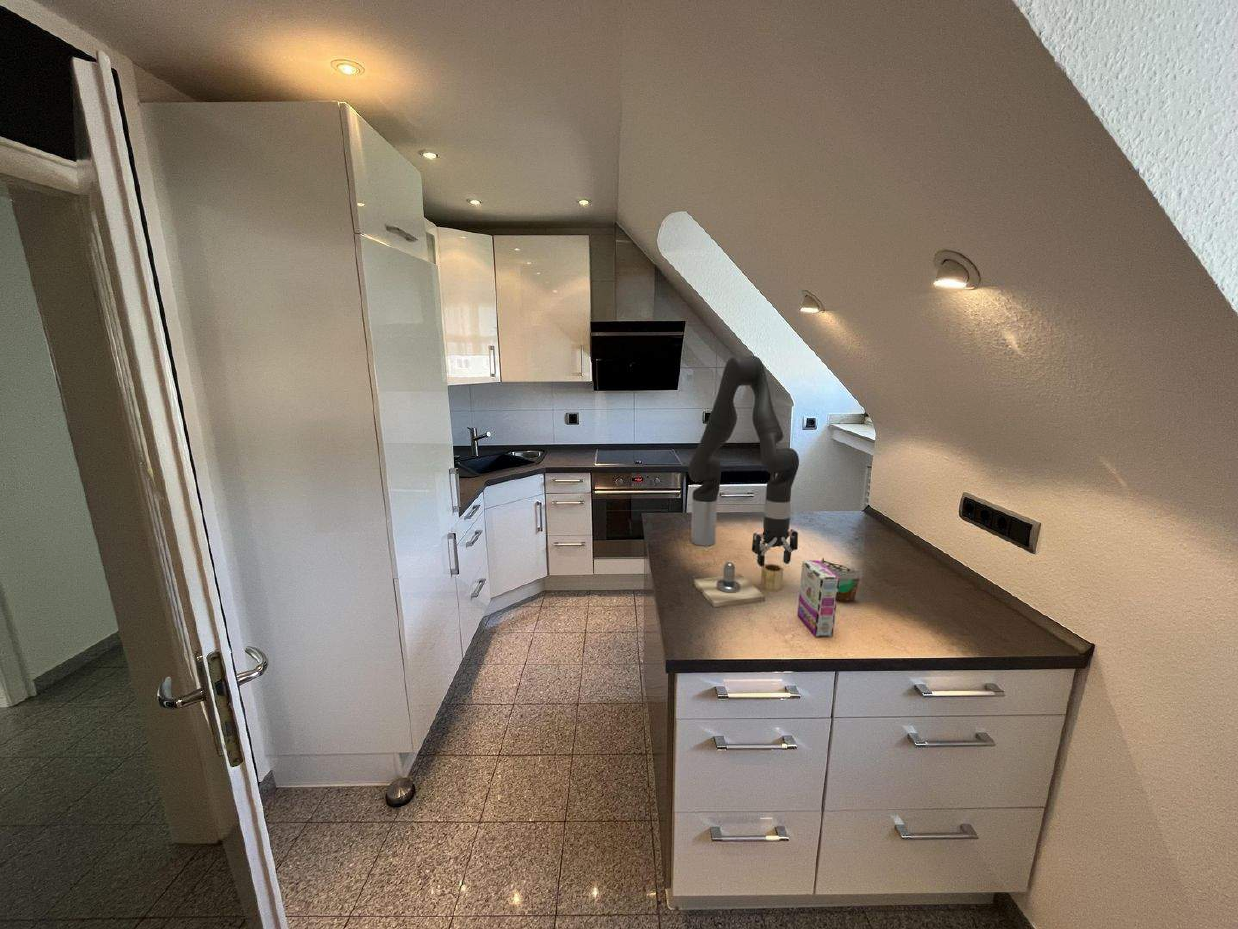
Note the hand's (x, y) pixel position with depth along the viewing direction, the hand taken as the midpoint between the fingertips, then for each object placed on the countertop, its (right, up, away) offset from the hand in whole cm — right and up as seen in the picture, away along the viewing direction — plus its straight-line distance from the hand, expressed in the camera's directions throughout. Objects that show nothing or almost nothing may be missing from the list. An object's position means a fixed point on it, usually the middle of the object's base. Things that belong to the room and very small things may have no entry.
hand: (773, 564), depth 149 cm
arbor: (-15, -6, -2) cm, 16 cm away
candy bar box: (+4, -12, -20) cm, 24 cm away
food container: (+16, -9, -5) cm, 19 cm away
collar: (0, -7, +2) cm, 7 cm away
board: (-15, -8, -2) cm, 17 cm away
